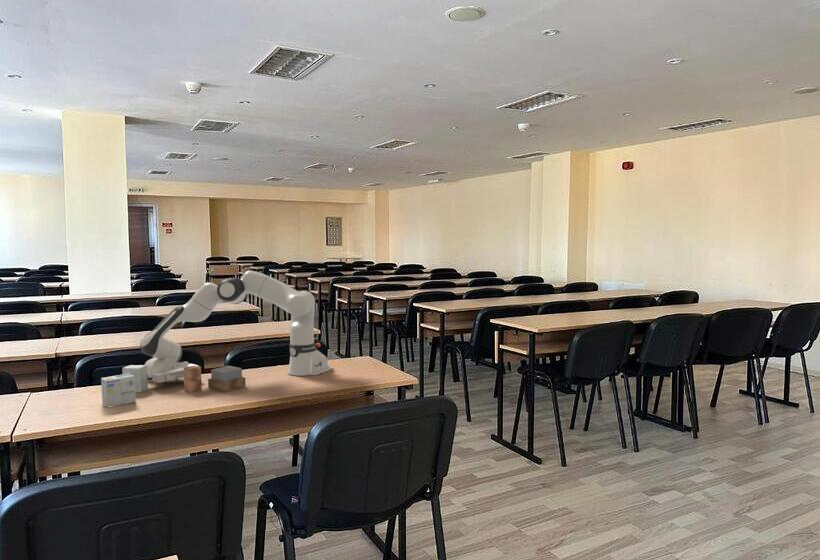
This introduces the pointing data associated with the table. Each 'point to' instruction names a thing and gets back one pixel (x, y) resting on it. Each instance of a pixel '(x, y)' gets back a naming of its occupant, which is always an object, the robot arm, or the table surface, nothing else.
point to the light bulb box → (118, 390)
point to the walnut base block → (226, 384)
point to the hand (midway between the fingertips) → (185, 376)
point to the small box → (138, 376)
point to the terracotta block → (192, 378)
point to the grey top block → (226, 373)
